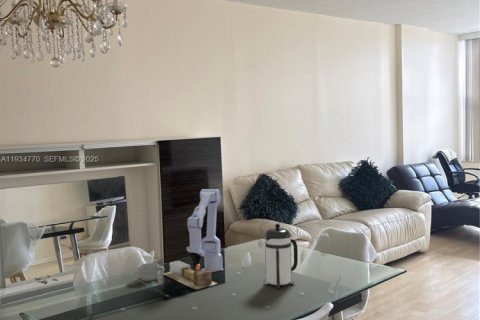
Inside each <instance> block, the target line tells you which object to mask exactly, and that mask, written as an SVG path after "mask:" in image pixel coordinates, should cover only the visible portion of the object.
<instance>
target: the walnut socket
mask: <svg viewBox="0 0 480 320" xmlns="http://www.w3.org/2000/svg"><path fill="white" fill-rule="evenodd" d="M203 269H204V270H202V269H200V271H196V270H195V271H196V272H194V285H195V286H197V287H199V288H200V287H203V288H205V287H204V286H207V285H211V284H212V281H213V280H212V279H213V278H212V272H211V271H209V270H207V269H205V268H203ZM211 286H212V285H211ZM207 287H208V286H207ZM200 289H201V288H200Z"/></svg>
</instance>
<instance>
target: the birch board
mask: <svg viewBox="0 0 480 320" xmlns="http://www.w3.org/2000/svg"><path fill="white" fill-rule="evenodd" d="M162 275H164V276H166V277H168V278H170V279H172V280H175V281H176V282H179V283H181V284H183V285H185V286H188V287H189V288H191V289H194V290H199V289H204V288H206V287H210V286H215V285H218V282H215V281H213V280H212V284H211V285H207V286H204V287H200V288H199V287H197V286H195V285H194V280H193V279H191V278H189V277H184V278H180V277H178V276H176V275H173V274H171V273H170V271H169V272H164V273H163V274H162Z"/></svg>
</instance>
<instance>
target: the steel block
mask: <svg viewBox="0 0 480 320" xmlns="http://www.w3.org/2000/svg"><path fill="white" fill-rule="evenodd" d="M185 268H189V269H191V270H192V268H191V265H190V264H189V263H186V262H183V261H181V260H174V261H171V262H169V272H170V273H171V274H173V275H176V276H178V277H180V278H184V277H186V276H184V275H183V269H185Z"/></svg>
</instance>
